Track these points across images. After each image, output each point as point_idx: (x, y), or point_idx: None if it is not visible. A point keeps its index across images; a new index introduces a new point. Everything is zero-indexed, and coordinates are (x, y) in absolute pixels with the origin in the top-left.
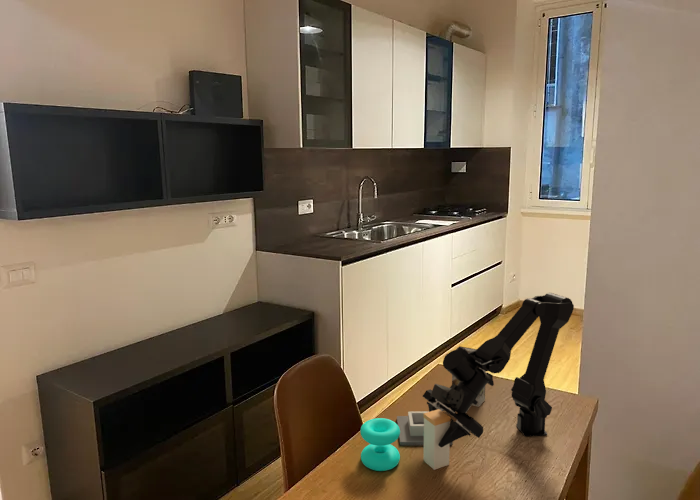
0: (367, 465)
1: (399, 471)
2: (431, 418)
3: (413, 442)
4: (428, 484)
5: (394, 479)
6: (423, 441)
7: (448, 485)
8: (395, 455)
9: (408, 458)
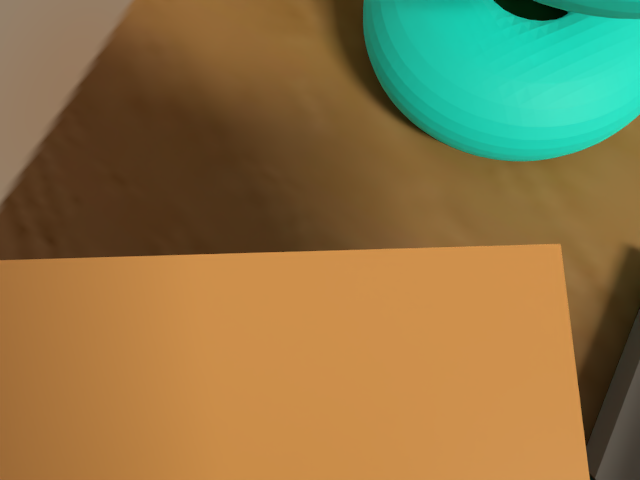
0: None
1: (338, 100)
2: (24, 317)
3: (629, 376)
4: (119, 197)
5: (277, 33)
6: (606, 470)
7: None
8: (421, 58)
9: (454, 235)
